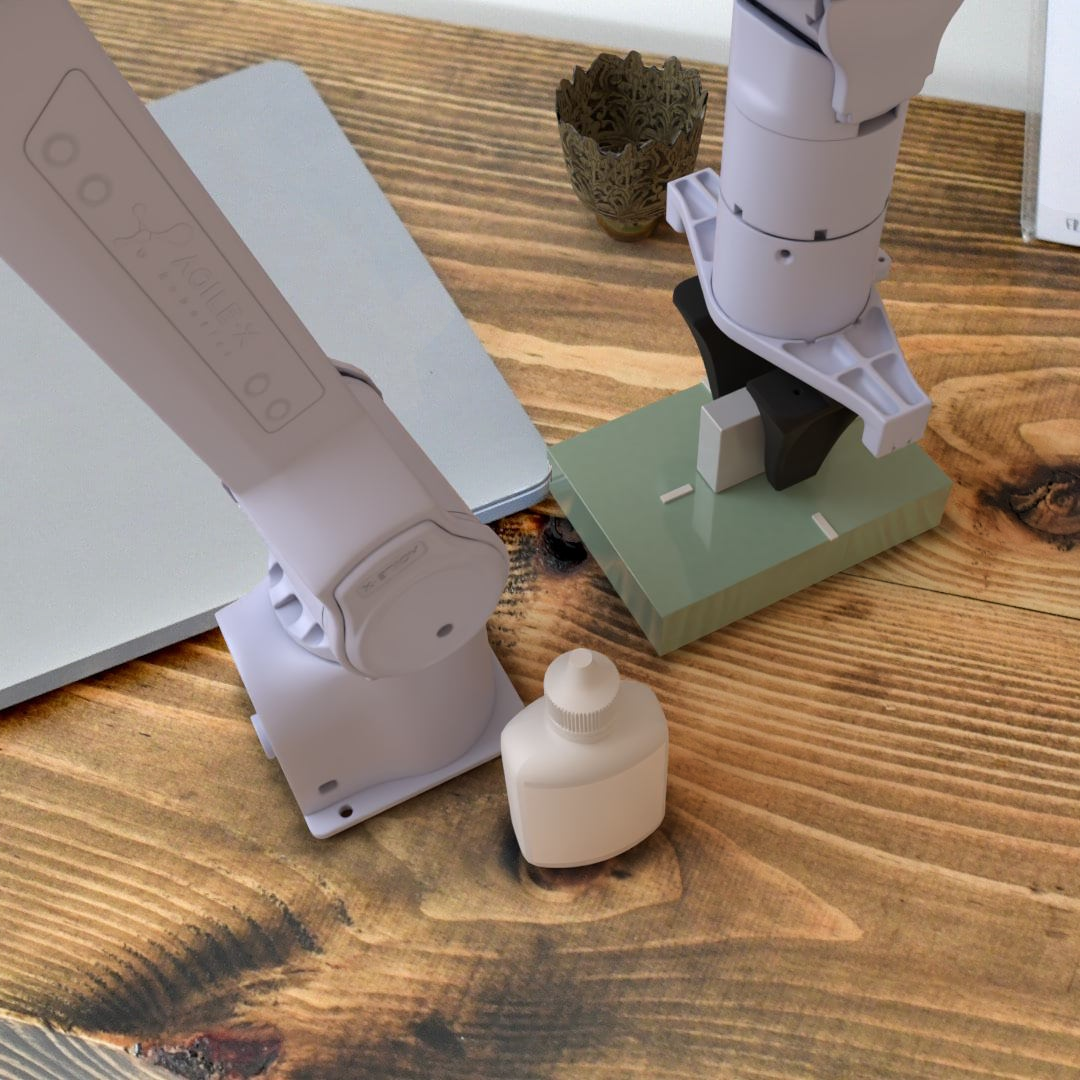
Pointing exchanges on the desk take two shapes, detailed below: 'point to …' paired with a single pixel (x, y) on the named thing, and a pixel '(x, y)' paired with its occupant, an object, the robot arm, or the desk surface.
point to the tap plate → (728, 517)
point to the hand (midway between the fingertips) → (767, 446)
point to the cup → (629, 138)
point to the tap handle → (730, 440)
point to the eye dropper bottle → (585, 764)
